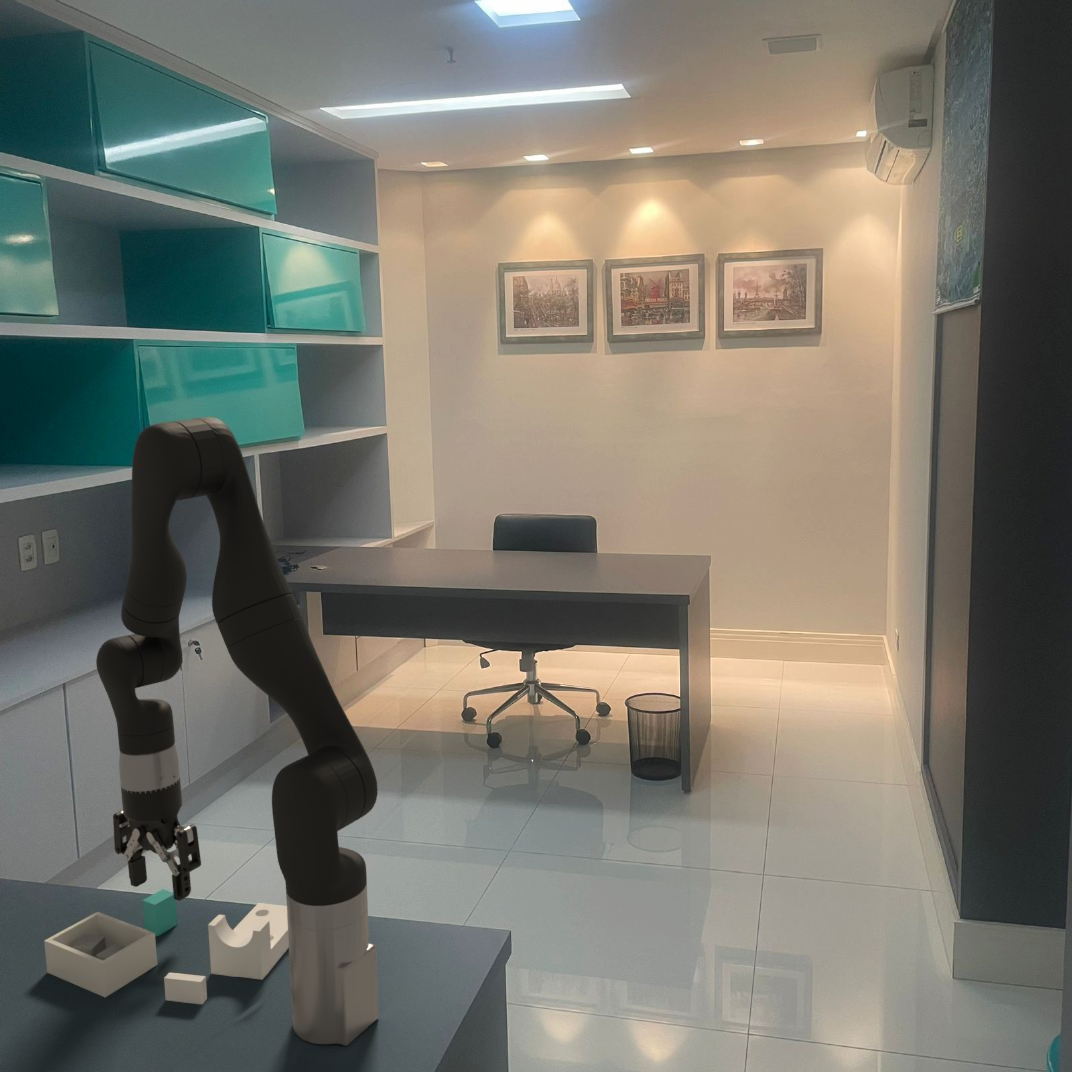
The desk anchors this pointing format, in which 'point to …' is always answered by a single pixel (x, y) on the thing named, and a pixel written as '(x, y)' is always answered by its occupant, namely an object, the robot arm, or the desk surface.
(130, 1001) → the desk surface
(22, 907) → the desk surface
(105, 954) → the block
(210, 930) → the bracket
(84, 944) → the block
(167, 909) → the lid
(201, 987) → the eraser
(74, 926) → the tub
